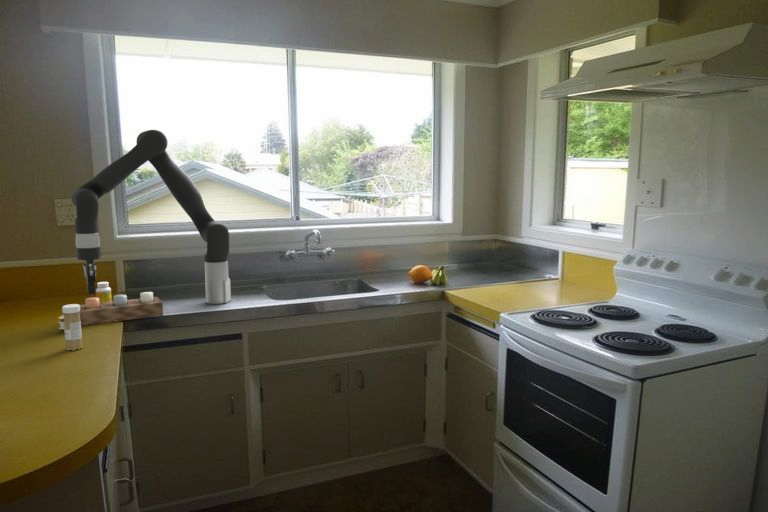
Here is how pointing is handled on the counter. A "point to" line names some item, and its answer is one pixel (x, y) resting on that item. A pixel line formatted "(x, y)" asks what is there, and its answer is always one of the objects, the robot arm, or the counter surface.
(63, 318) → the stacked layers on plate
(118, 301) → the blue-grey egg
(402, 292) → the counter surface
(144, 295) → the cream button
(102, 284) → the supplement bottle
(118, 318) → the button panel
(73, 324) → the sprinkles bottle
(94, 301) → the brown egg
